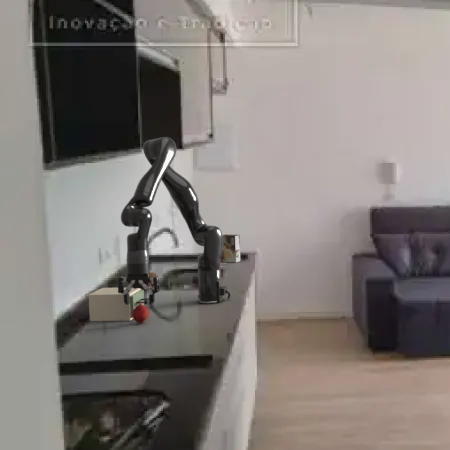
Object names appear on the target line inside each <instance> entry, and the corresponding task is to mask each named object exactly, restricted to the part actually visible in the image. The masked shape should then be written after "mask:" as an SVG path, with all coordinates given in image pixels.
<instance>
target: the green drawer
mask: <svg viewBox="0 0 450 450" xmlns="http://www.w3.org/2000/svg"><path fill="white" fill-rule="evenodd" d="M141 302H142V303H143V305H144V306H145V305H148V304H149V297H148V298H145V289H141V290H140V291H138V292H137V293H134V294H133V295H131V296H130V310H131V318H133V316H132V312H133V310H134V309H135V307H137V306H138V305H139V303H141ZM133 319H134V318H133Z"/></svg>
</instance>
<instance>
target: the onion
mask: <svg viewBox="0 0 450 450" xmlns="http://www.w3.org/2000/svg"><path fill="white" fill-rule="evenodd" d="M150 315H151V314H150V310H149V308H148V307H147V306H146V305H145V304H144V305H143V303H142V302H141V303H139V305H138V306H137V307H135V309H134V310H133V312H132V316H133V321H135V322H137V323H138V324H144V323H145V322H146V321H147V320H148V319H149V317H150Z"/></svg>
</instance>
